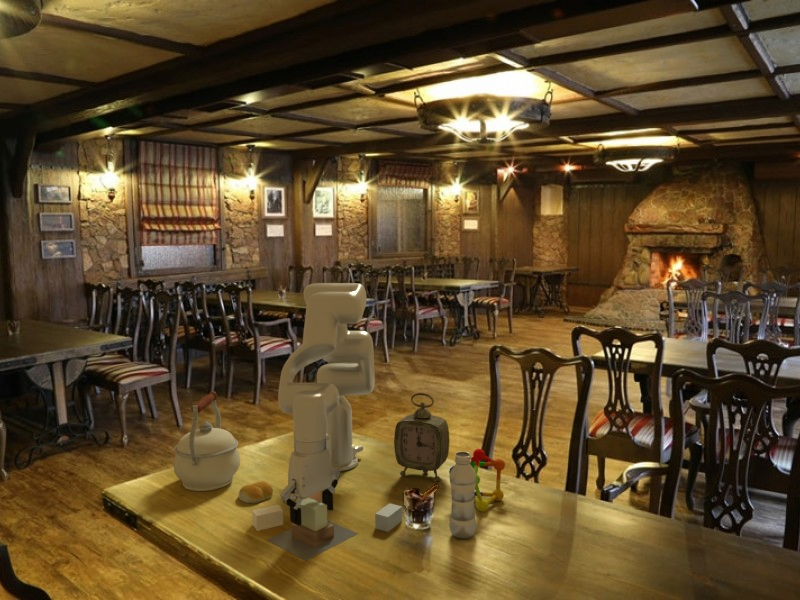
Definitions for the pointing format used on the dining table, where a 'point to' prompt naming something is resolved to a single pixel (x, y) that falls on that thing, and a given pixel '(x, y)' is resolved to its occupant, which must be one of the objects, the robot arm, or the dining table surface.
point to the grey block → (388, 517)
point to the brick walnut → (313, 534)
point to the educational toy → (475, 463)
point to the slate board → (305, 549)
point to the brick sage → (313, 514)
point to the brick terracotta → (316, 497)
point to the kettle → (206, 452)
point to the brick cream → (267, 517)
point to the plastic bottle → (462, 497)
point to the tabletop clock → (421, 440)
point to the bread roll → (256, 492)
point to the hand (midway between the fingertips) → (312, 515)
